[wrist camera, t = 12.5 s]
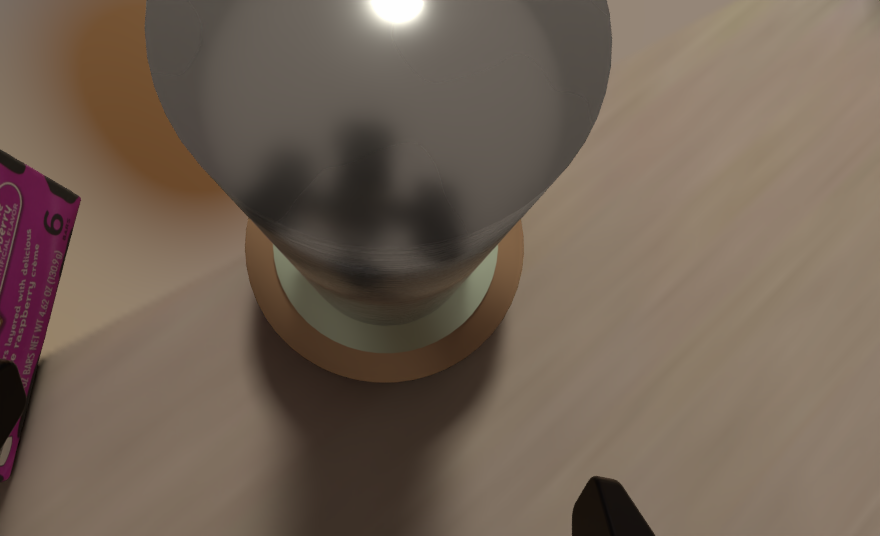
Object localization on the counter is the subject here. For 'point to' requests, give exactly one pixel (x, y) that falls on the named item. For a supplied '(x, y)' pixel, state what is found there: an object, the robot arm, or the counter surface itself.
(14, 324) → the candy bar box
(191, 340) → the counter surface
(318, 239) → the grey tin
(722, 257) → the counter surface
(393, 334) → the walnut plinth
